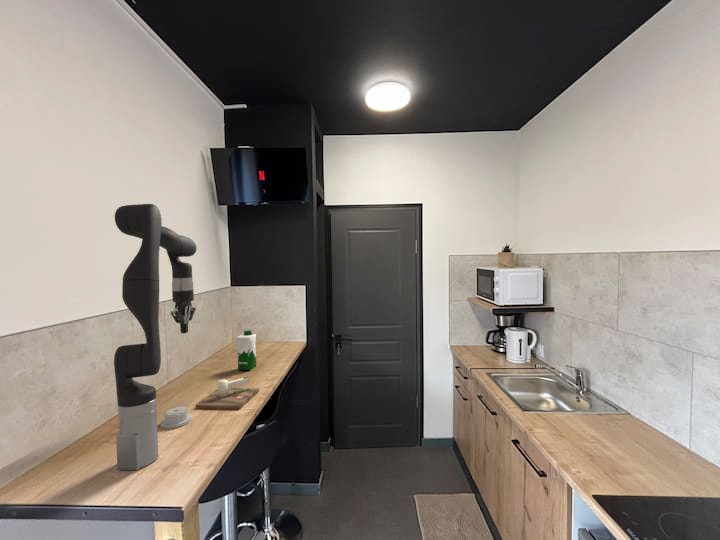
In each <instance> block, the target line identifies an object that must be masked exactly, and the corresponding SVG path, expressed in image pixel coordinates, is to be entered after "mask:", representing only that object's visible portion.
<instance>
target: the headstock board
mask: <svg viewBox="0 0 720 540" xmlns="http://www.w3.org/2000/svg"><path fill="white" fill-rule="evenodd" d="M259 390H260V388H259V387H258V388H256V387H254V388H253V387H252V388H251V387H235V388H231V389H228V396H226V397H218V388H217V389H216V390H214V391H213V392H211V393H210V394H209V395H207V396H206V397H205V398H203V399H202V400H200V401H199V402H198V403H196V404H195V409H198V410H208V409H209V410H242V408H243V407H245V405H246V404H247V403H248V402H249V401H251V400H252V399H253V398H254V397H255V396H256V395H257V394H258V393H259V392H260V391H259Z"/></svg>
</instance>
